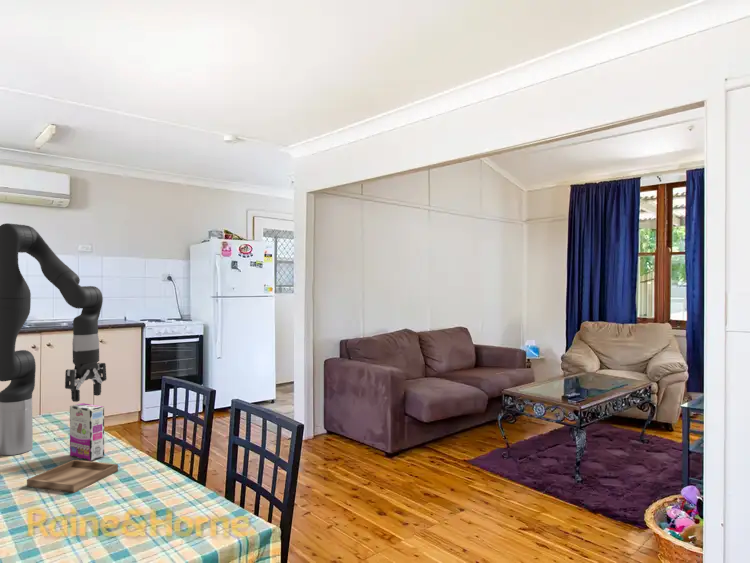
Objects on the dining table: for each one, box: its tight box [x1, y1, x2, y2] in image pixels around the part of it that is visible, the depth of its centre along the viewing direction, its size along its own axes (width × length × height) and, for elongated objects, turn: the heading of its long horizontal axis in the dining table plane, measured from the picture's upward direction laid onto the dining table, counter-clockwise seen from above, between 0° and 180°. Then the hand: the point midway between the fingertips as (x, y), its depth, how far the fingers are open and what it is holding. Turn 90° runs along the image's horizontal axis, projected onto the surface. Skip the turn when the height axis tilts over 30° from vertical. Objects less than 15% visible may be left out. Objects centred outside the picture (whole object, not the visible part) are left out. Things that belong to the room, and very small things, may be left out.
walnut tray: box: [26, 459, 119, 494], centre depth 149 cm, size 16×16×2 cm
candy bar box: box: [69, 402, 105, 462], centre depth 167 cm, size 11×5×16 cm, turn 62°
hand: (86, 398), depth 167 cm, fingers open, 8 cm apart
